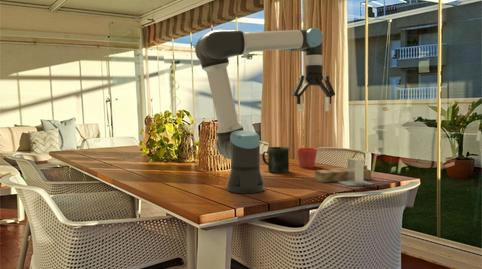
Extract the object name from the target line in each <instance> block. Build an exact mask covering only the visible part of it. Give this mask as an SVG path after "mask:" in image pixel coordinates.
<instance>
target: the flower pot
mask: <svg viewBox="0 0 482 269" xmlns="http://www.w3.org/2000/svg"><path fill="white" fill-rule="evenodd" d="M317 152H318V150H317V148H314V147H313V148H312V147H299V148H296V153H297V159H298V163H299V164H298V165H299V167H300V168H314V167H315V165H316V157H317Z"/></svg>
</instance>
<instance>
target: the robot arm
mask: <svg viewBox="0 0 482 269" xmlns="http://www.w3.org/2000/svg"><path fill="white" fill-rule="evenodd" d="M323 42H324V34H323V32H322V30H321V29H320V28H318V27H311V28H307V29H291V30H289V29H288V30H287V29H286V30H269V31H265V30H264V31H247V32H245V31H243V30H242V29H215V30H211V31H210V32H208V33H205V34H204V35H202V36H201V37H200V38H199V39H198V40H197V41H196V44H195V46H194V52H195V55H196V57H197V59H198V60H199V61H200V65H201V69H202V70H203V71H205V73H206V75H207V80H208V85H209V88H210V90H209V91H210V94H211V97H212V102H213V107H214V111H215V116H216V120H217V125H218V128H217V129H216V137H217V139H216V144H215V145H216V150H217V151H218V153H219V154H220V155H221V156H222V157H223V158H226V159H228V160H230V172H229V176H228V179H227V181H226V190H227V191H228V192H230V193H235V194H256V193H259V192H263V191H265V182H264V180H263V176H262V174H261V167H260V166H261V164H260V163H261V162H260V161H261V159H260V158H261V152H260V150H261V148H260V144H261V142H260V141H261V140H260V135H259V134H258V133H257V132H255V131H252V130H251V131H249V130H244V127H243V125H242V124H241V123H239V120H238V115H237V111H236V106H235V100H234V96H233V92H232V88H231V83H230V82H231V81H230V78H229V73H228V68H227V67H228V66H229V64H230V62H229V61H230V60H229V58H231V57H235V56H242V55H243V54H244V53H248V52H249V53H251V52H263V51H264V52H265V51H277V50H280V51H281V50H283V51H285V52H304V53H305V64H306V66H305V75H299V78H298V81H297V84H296V86H295V88H294V90H293V93H292V96H293V97H295V98H296V104H297V106H298V107H297V108H298V109H297V110H298V112H301V113H302V112H303V96H302V95H303V94H304V93H305V91H306V90H307V89H308V88H309V86H318V87H319V88H320V89H321V91H322V92H323V93H324V94H325V102H324V103H325V104H324V105H325V107H324V108H325V110H324V111H325V112H330V105H331V104H332V97H334V96H336V93H335V90H334V88H333V86H332V83H331V81H330V76H329V75H323V63H324V62H323V58H324V57H323V52H324V51H323V48H324V47H323ZM304 81H305V83H303V82H304ZM323 81H324V82H323ZM303 84H304V85H303ZM302 85H303V86H302ZM325 85H326V86H325ZM301 87H302V88H301Z"/></svg>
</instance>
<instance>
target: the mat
mask: <svg viewBox="0 0 482 269" xmlns="http://www.w3.org/2000/svg"><path fill="white" fill-rule="evenodd" d="M337 183H338V184H340V185H343V186H345V187H362V186H363V185H365V186H374V185H373V184H374V183H373V182H371V181H367V180H365V179H363V184H353V183H350V182H348V181H337Z"/></svg>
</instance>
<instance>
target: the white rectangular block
mask: <svg viewBox="0 0 482 269" xmlns="http://www.w3.org/2000/svg"><path fill="white" fill-rule="evenodd" d="M364 161H365V160H364V159H361V158H356V157H354V158H352V157H351V158H350V157H349V158H347V169H348V182H350V183H353V184H363V180H364V179H363V175H364V165H365V162H364Z"/></svg>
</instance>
